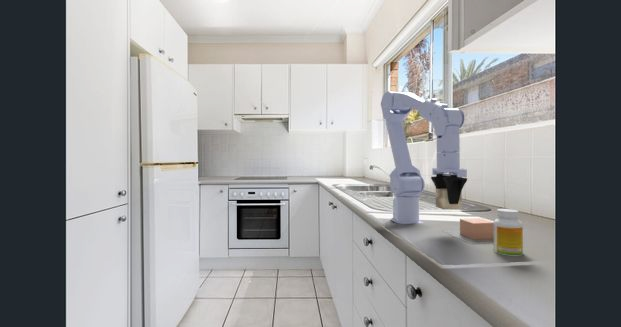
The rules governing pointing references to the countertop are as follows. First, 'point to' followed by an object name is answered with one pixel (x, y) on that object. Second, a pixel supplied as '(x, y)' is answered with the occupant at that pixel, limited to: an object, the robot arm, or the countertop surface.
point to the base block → (477, 228)
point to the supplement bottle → (508, 233)
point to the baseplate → (472, 241)
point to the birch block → (446, 200)
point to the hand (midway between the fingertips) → (448, 202)
